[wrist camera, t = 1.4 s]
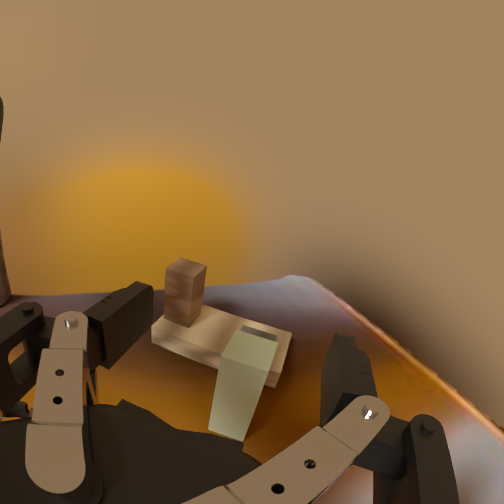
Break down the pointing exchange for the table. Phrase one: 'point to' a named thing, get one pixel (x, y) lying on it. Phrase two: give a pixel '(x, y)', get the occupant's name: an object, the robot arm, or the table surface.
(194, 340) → the base slab
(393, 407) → the table surface
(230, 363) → the pillar
